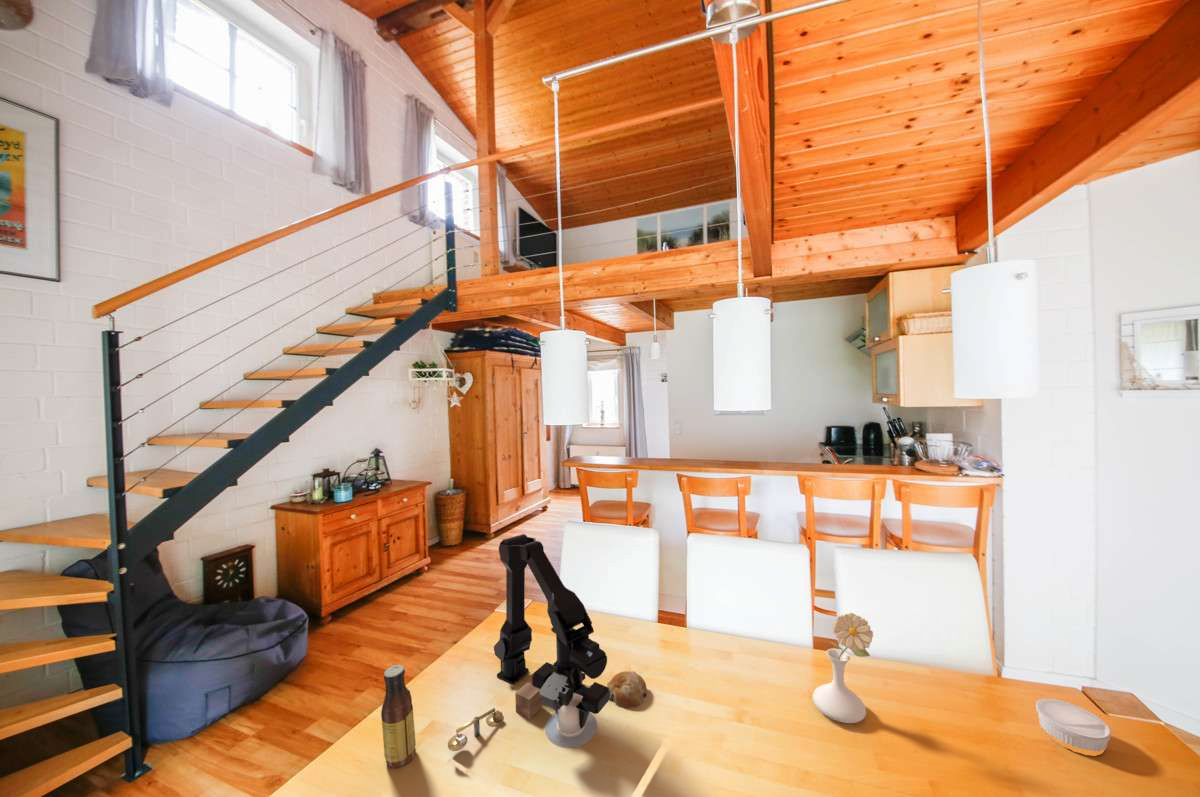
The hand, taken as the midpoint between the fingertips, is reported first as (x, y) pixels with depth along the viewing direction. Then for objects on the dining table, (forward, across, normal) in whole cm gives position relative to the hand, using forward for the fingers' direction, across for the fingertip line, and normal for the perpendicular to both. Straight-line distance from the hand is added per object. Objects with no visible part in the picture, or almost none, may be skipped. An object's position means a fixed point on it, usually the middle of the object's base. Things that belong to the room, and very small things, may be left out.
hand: (571, 721), depth 101 cm
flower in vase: (+2, +53, +38) cm, 65 cm away
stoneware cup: (+1, 0, 0) cm, 1 cm away
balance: (+2, -17, -13) cm, 22 cm away
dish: (+2, 0, 0) cm, 2 cm away
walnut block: (+2, -12, -1) cm, 12 cm away
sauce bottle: (+2, -28, -25) cm, 38 cm away
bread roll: (+3, +6, +16) cm, 17 cm away
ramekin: (+2, +96, +54) cm, 110 cm away
